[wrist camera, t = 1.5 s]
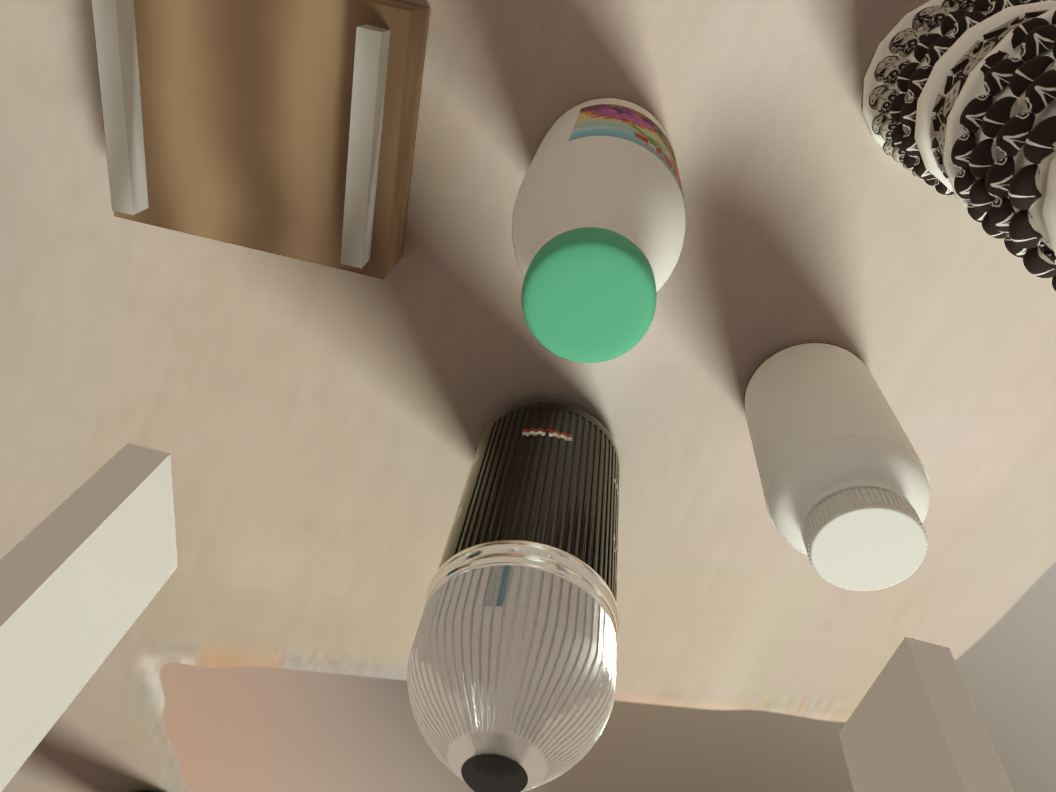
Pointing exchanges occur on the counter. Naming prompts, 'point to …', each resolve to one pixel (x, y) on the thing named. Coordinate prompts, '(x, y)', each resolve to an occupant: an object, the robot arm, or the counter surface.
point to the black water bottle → (524, 604)
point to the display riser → (265, 121)
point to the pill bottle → (837, 467)
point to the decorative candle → (976, 113)
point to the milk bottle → (598, 229)
